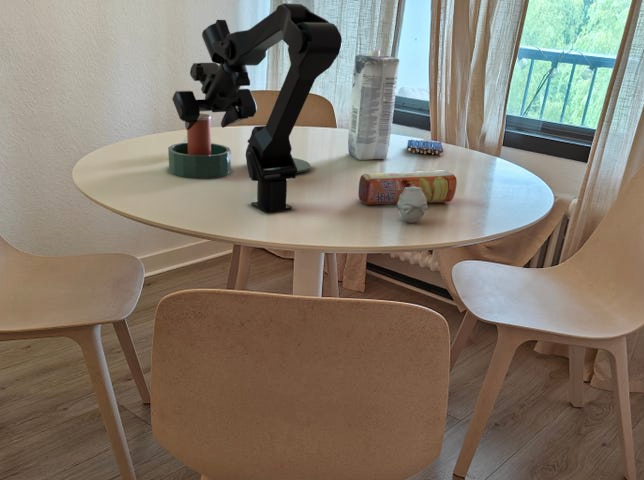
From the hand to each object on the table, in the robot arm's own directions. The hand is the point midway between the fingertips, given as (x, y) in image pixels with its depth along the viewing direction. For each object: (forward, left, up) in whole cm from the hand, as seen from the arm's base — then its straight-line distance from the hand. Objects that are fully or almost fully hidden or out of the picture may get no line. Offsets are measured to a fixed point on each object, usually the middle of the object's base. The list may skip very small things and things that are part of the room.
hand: (204, 127), depth 151 cm
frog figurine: (-50, -21, -11) cm, 55 cm away
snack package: (-39, -30, -11) cm, 50 cm away
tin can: (+3, 0, -10) cm, 11 cm away
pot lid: (-2, -20, -10) cm, 23 cm away
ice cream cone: (+18, -6, -11) cm, 22 cm away
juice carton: (-1, -50, -11) cm, 51 cm away
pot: (+3, 0, -11) cm, 11 cm away
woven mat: (-2, -72, -10) cm, 72 cm away
